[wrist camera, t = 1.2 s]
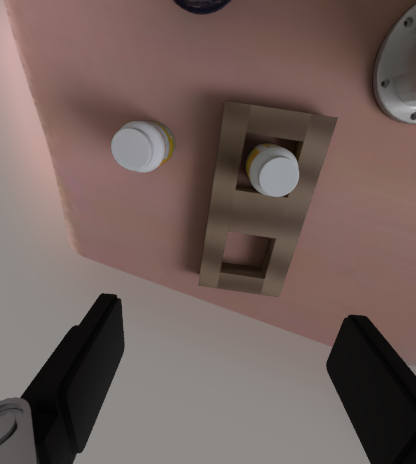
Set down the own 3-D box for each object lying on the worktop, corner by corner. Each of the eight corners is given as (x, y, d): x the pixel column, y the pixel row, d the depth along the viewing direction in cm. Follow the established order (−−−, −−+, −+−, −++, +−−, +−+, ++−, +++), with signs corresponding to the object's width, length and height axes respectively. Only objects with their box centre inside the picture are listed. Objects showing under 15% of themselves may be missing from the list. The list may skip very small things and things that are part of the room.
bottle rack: (224, 103, 30) (225, 100, 27) (327, 118, 30) (337, 117, 27) (199, 274, 40) (198, 285, 38) (275, 285, 40) (278, 297, 38)
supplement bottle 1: (136, 162, 33) (105, 175, 24) (135, 119, 31) (100, 117, 22) (174, 165, 33) (157, 180, 24) (176, 123, 31) (157, 122, 22)
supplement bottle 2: (276, 135, 31) (297, 138, 22) (289, 172, 33) (314, 189, 24) (238, 154, 32) (244, 165, 23) (253, 189, 34) (264, 211, 25)
